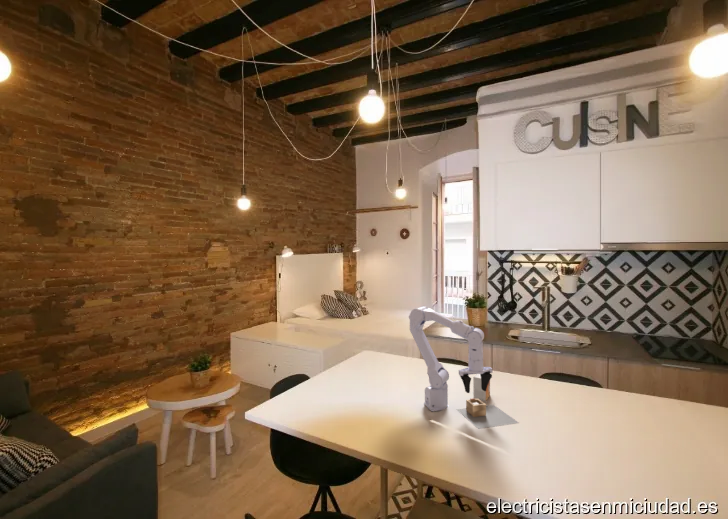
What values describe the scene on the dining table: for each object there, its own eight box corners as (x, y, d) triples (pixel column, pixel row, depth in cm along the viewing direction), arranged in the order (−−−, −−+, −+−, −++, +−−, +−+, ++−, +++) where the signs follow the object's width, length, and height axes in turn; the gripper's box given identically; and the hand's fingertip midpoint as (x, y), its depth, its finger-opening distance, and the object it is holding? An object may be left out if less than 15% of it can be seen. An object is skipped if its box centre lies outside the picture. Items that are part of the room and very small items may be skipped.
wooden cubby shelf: (473, 417, 132) (473, 404, 132) (466, 410, 138) (466, 399, 138) (486, 415, 134) (486, 403, 134) (478, 409, 139) (478, 397, 139)
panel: (478, 430, 124) (478, 418, 124) (456, 411, 139) (456, 400, 139) (519, 424, 128) (519, 412, 128) (493, 406, 144) (493, 395, 144)
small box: (485, 402, 147) (485, 379, 147) (473, 399, 151) (473, 376, 150) (490, 396, 154) (490, 374, 154) (478, 393, 157) (478, 371, 157)
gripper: (465, 362, 130) (465, 397, 130) (497, 360, 134) (497, 393, 134) (456, 357, 137) (456, 389, 137) (486, 355, 141) (486, 386, 141)
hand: (475, 391), depth 136 cm, fingers open, 7 cm apart
